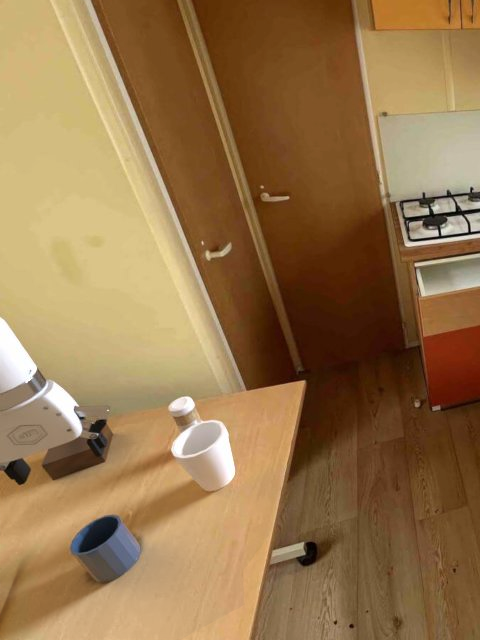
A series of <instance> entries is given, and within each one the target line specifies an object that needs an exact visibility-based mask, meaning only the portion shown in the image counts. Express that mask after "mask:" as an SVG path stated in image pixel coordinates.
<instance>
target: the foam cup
mask: <svg viewBox="0 0 480 640" xmlns="http://www.w3.org/2000/svg"><path fill="white" fill-rule="evenodd" d="M202 421H203V422H200V423H198V424H195V425H193V426H191V427H189V428H188V429H186V430H185V431H184V432H182V433H181V432H180V433H179V434H178V436H177V437H176V438H175V439H174V440H173V442H172V445H171V448H170V452H171V453H172V455H173V457H174V459H175V461H176V462H177V464H178V465H180V466H181V467H183V469H184V470H185V472H187V473H188V474H189V476H191V477H192V479H193V480H194V481H195V482H196V484H198V485H199V486H200V488H201V489H202V490H203V491H205V492H209V493H210V492H216V491H218V490H219V491H220V490H221V489H223V488H224V487H226V486H227V485H228V484H230V483H231V482H232V480H233V478H234V477H235V474H236V467H235V462H234V458H233V453H232V448H231V444H230V439H229V432H228V429H227V427H226V426H225V424H224V423H223V421H220V420H216V419H210V420H202Z"/></svg>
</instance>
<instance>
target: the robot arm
mask: <svg viewBox="0 0 480 640" xmlns="http://www.w3.org/2000/svg"><path fill="white" fill-rule="evenodd" d="M110 411H111V406H110V405H79V404H78V402H77V401H76V400H75V399H74V398H73V396H71V394H70V393H68V391H67V390H65V389H64V388H63V387H62V386H61V385H59V384H58V383H57V382H55V381H54V380H52V379H46V378H45V375H43V373H42V372H41V370H40V368H38V366H37V365H36V363H35V361H34V360H33V359H32V357H31V356H30V355H29V353H28V352H27V350H26V349H25V347H24V346H23V344H22V343H21V341H20V340H19V339H18V336H16V334H15V332H14V331H13V330H12V328H11V327H10V326H9V324H8V323H7V322H6V320H5V319H3V317H1V316H0V472H3V473H5V474H6V476H7V477H8V478H9V479H10V480H11V481H14V482H15V483H16V484H17V485H18V486H21V485H24V484H25V483H27V481H28V478H29V476H30V475H31V474H30V473H31V472H32V468H31V466H29V464H28V463H27V462H26V461H25V459H24V458H27V457H29V456H33V455H35V454H38V453H41V452H45V451H48V449H50V448H53V447H56V446H59V445H62V444H65V443H67V442H70V441H72V440H74V439H76V438H78V437H82V438H87V439H88V440H87V444H88V446H89V447H90V448H91V450H92V451H93V453H94V454H95V456H96V457H99V456H102V455H103V452H104V448H105V447H106V446H107V439H106V438H105V436H104V435H103V433H102V432H101V430H102V429H103V428H104V426H105V425H106V423H107V424H108V419H109V415H110ZM88 417H89V418H90V417H96V418H97V419H96V420H95V421H93V420H89V419H87V418H88ZM82 428H86V429H90V430H86V429H82Z"/></svg>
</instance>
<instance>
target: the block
mask: <svg viewBox="0 0 480 640" xmlns="http://www.w3.org/2000/svg"><path fill="white" fill-rule="evenodd" d="M82 429H86V428H82ZM86 430H90V429H86ZM101 432H102V433H103V435H104V436H105V438H106V439H107V446H106V447H105V448H104V452H103V455H102V456H99V457H96V456H95V454H94V453H93V451H92V450H91V448H90V447H89V446H88V444H87V440H88V439H87V438H82V437H78V438H76V439H74V440H72V441H70V442H67V443H65V444H62V445H59V446H56V447H53V448H50V449H47V450H46V452H45V453H46V454H45V456H44V459H43V461H42V463H41V465H40V466H41V468H43V470H44V471H45V472H46V474H47V476H49V477H50V479H51V480H52V481H55V480H58V479H60V478H64V477H66V476H68V475H69V476H70V475H71V474H72V475H73V474H74V473H77V472H79V471H83V470H87V469H88V468H92V467H94V466H97V465H100V464H102V463H106V461H107V457H108V454H109V451H110V447H111V443H112V439H113V435H114V433H113V431H112V429H111V428H110V427H109V425H108V422H107V423H106V425H105V426H104V428H103V429H102V430H101Z"/></svg>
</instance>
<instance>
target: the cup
mask: <svg viewBox="0 0 480 640" xmlns="http://www.w3.org/2000/svg"><path fill="white" fill-rule="evenodd" d="M69 551H70V553H71V555H72V556H73V557H74V558H75V560H76V561H77V562H78V563H79V564H80V565H81V567H83V569H84V570H85V571H86V572H87V574H88V575H89V576H90V577H91V578H92V579H93V580H94V581H95V582H97V583H109V582H111V581H114V580H116V579H118V578H120V577H122V576H123V575H124V574H126V573H127V572H129V570H130V569H131V568H132V567H133V566H134V565H135V564H136V562H137V561H138V559H139V558H140V555H141V551H142V548H141V545H140V544H139V542H138V540H137V539H136V538H135V536H134V535H133V533H132V532H131V531H130V529H129V528H128V527H127V525H126V524H125V522H124V521H123V519H122V518H121V516H119V515H117V514H109V515H108V514H107V515H103V516H101V517H98V518H96V519H94V520H92V521H91V522H89V523H88V524H86V525H85V526H83V527H82V528H81V529H80V530H79V531H78V532H77V533H76V534H75V535H74V537H73V538H72V540H71V542H70V545H69Z"/></svg>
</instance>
